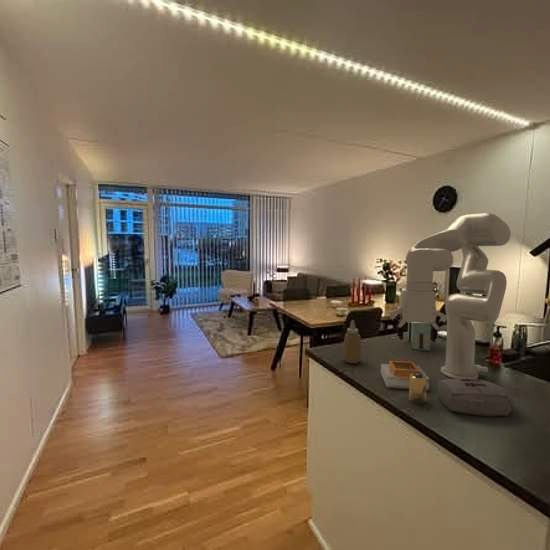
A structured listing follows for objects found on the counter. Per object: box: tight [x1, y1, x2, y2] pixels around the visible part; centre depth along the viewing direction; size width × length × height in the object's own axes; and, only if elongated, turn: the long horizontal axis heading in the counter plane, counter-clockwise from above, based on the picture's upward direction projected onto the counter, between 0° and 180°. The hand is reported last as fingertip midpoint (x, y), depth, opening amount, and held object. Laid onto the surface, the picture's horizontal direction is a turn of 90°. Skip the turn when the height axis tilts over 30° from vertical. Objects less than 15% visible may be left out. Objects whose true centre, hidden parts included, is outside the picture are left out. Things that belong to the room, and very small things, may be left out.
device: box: [407, 322, 432, 352], centre depth 155 cm, size 16×8×30 cm, turn 164°
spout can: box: [408, 372, 428, 405], centre depth 101 cm, size 6×5×9 cm
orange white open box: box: [380, 360, 430, 391], centre depth 114 cm, size 14×12×6 cm
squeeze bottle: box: [342, 320, 363, 364], centre depth 134 cm, size 8×8×18 cm
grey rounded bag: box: [437, 378, 516, 417], centre depth 96 cm, size 15×8×20 cm
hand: (416, 339), depth 100 cm, fingers open, 9 cm apart
